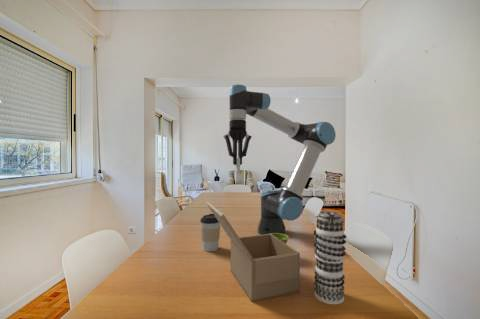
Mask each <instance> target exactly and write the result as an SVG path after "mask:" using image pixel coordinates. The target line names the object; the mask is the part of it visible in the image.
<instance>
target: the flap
mask: <svg viewBox="0 0 480 319" xmlns="http://www.w3.org/2000/svg"><path fill="white" fill-rule="evenodd" d="M205 204H206V206H207V207H208V208H209V210H210V212H211V214H214V216H215V217H216V219H217V220H218V222H219V223H220V227H222V229H223V230H224V232H225V233H226V235H227V236H228V237H229V239H230V241H231V240H232V241H233V242H234V243H235V244H236V245H237V246H238V247H239V249H240V250H241V251H242V252H243V253H244V254H245V255H246V256H247V257H248V258H249V259H252V256H251V255H250V253H249V252H248V250H247V249H246V247H245V246H244V244H243V243H242V241H241V240H240V238H239V237H240V236H239V235H238V234H237V232H236V231H235V229H234V228H233V226H232V225H231V223H230V221H228V219H227V217H226V216H225V214H224V213H223V212H221V211H220V210H219V209H218V208H216V207H215V206H214V205H213V204H212V203H210V202H209V201H207V202H205Z"/></svg>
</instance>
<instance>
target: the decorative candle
mask: <svg viewBox="0 0 480 319" xmlns="http://www.w3.org/2000/svg"><path fill="white" fill-rule="evenodd" d="M315 219H316V226H315V229H314V231H313V235H314V237H313V243H314V244H313V246H314V257H315V262H316V264H315V269H314V282H313V285H314V287H313V288H314V289H313V290H314V297H315V298H316V299H317V300H318V301H320V302H322V303H324V304H328V305H340V304H342V303H344V301H345V297H344V296H345V286H344V285H345V274H344V263H345V259H346V258H345V256H346V252H345V251H346V247H345V246H344V245H345V244H346V243H347V241H346V238H347V235H346V234H345V229H344V227H345V226H344V224H345V223H344V221H345V218H344V217H342V216H341V214H340V213H339V212H336V211H330V210H329V211H325V210H324V211H320V212H319V213H318V215H315Z"/></svg>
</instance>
